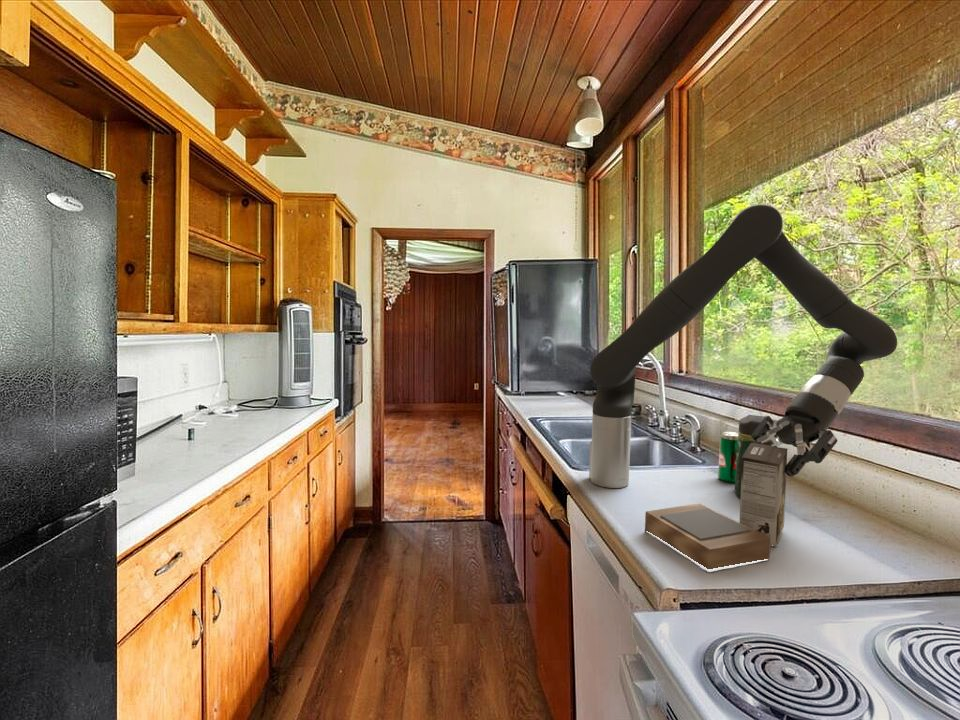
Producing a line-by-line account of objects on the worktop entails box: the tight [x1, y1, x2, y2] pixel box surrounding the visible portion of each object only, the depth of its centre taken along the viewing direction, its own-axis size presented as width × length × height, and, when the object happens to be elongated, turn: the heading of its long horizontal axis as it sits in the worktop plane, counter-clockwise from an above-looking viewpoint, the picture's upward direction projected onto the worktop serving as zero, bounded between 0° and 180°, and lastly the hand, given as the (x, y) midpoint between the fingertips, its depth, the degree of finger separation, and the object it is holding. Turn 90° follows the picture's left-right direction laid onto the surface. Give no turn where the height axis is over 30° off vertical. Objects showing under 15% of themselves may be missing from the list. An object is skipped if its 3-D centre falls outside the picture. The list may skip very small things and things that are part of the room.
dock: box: [644, 503, 771, 569], centre depth 88 cm, size 16×13×4 cm
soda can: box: [717, 431, 738, 484], centre depth 123 cm, size 5×5×12 cm
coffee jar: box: [734, 414, 779, 498], centre depth 113 cm, size 10×8×19 cm
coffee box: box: [739, 443, 789, 547], centre depth 92 cm, size 9×6×16 cm
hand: (769, 467), depth 93 cm, fingers closed on coffee box, 7 cm apart
